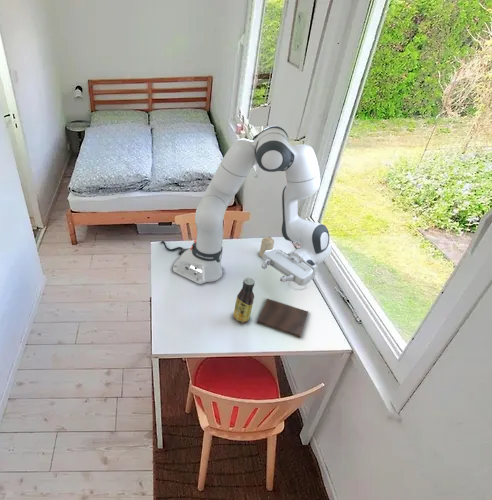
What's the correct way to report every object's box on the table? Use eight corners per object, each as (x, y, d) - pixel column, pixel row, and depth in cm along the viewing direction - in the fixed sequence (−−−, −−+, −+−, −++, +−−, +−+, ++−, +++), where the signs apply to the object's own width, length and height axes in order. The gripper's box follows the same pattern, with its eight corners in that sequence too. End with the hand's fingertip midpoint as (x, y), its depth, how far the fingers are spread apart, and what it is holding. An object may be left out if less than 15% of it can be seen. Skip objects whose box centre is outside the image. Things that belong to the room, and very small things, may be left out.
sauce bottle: (229, 316, 151) (235, 277, 139) (242, 311, 153) (249, 272, 141) (239, 327, 146) (246, 288, 134) (253, 322, 148) (260, 283, 136)
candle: (271, 259, 180) (275, 241, 174) (259, 258, 181) (262, 240, 175) (270, 252, 184) (274, 235, 179) (259, 251, 185) (262, 234, 180)
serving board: (257, 322, 148) (257, 320, 147) (266, 300, 157) (267, 298, 157) (300, 337, 141) (300, 335, 140) (307, 313, 151) (308, 311, 150)
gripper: (278, 242, 155) (253, 253, 149) (320, 268, 140) (294, 281, 135) (276, 254, 158) (251, 265, 153) (317, 281, 144) (291, 294, 138)
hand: (271, 273), depth 144 cm, fingers open, 8 cm apart
